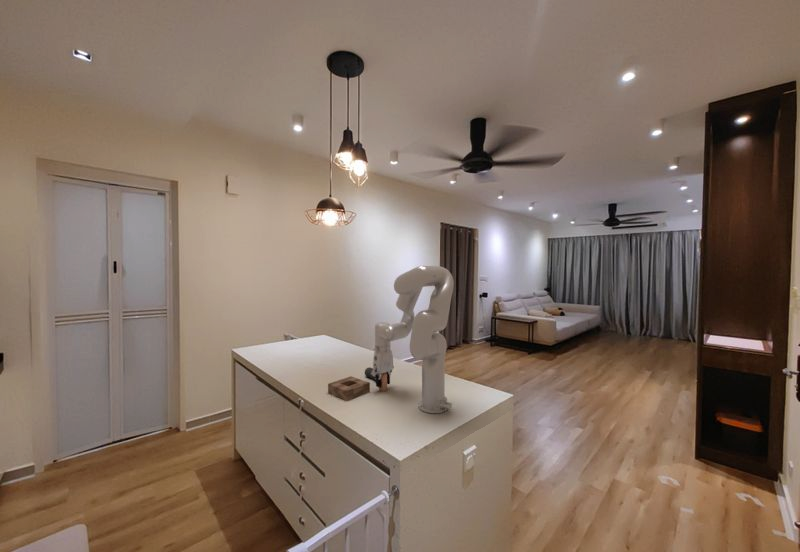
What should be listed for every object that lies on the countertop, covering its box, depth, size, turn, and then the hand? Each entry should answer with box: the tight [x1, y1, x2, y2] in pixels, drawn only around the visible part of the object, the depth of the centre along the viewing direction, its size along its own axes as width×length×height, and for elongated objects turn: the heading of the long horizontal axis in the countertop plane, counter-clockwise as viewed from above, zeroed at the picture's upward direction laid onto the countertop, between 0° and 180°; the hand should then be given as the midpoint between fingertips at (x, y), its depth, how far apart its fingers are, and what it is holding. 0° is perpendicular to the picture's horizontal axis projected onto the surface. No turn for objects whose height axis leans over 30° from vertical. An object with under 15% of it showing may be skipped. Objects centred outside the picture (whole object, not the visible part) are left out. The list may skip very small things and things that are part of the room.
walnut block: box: [327, 375, 371, 402], centre depth 149 cm, size 14×14×4 cm
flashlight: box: [364, 367, 379, 382], centre depth 167 cm, size 15×5×5 cm, turn 38°
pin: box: [378, 373, 388, 392], centre depth 152 cm, size 4×4×8 cm
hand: (383, 384), depth 152 cm, fingers open, 5 cm apart
